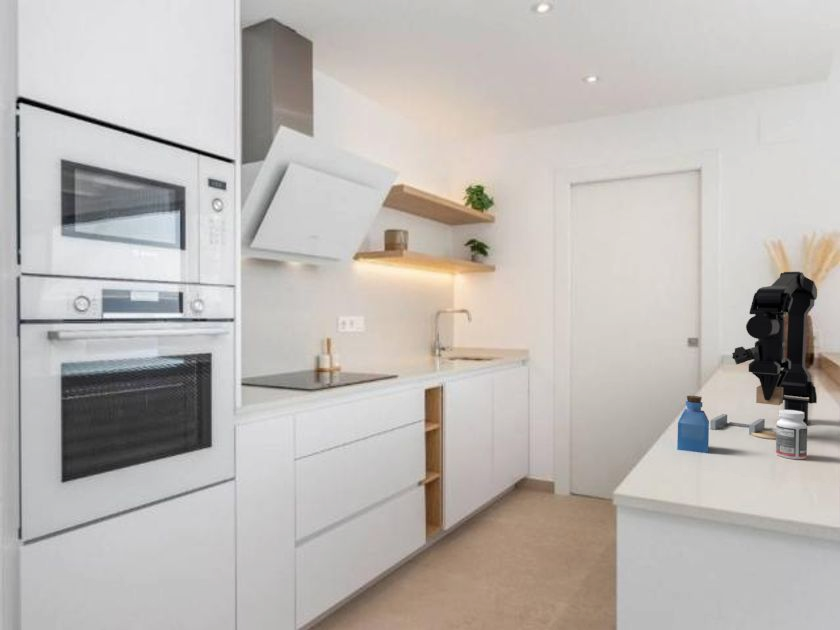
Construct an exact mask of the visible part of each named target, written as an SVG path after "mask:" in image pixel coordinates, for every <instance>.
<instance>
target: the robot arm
mask: <svg viewBox="0 0 840 630" xmlns="http://www.w3.org/2000/svg"><path fill="white" fill-rule="evenodd" d="M817 298H818V289H817V286H816V283H815V281H814V280H812V279H810V278H808V277H807V276H805V275H804V273H803V272H800V271H783V272H781V273H780V274H779V277H778V278H777V279H776V280H775V281H774V282H773V283H772V284H771V285H770V286H762V287H759V288H758V289H757V290H756V292H755V293H754V295H753V297H752V301H751V304H750V309H749V315H753V316H751V317H750V318H749V319H748V321H747V322H746V325H745V328H746V329H745V330H746V332H747V334H748V335H749V336H750V337H752V338H754V339H757V341H755V342H754V346H753V347H750V348H745V347H744V346H738V347H735V348H734V352H732V353H731V354H732V356H731V358H732V359H733V361H734V362H735V364H736V365H739V364H743V363H746V362H748V361H751V362H750V363H748V372H749V373H751V374H752V375H754V376H755V377H756V378H758V380H759V382H760V385H761V387H762V391H763V395H764V399H765V400H770V399H771V397H772V394H773V392H774V390H775V388H776V387H783V401H784V402H783V403H784V404H783V405H784V407H783V408H784V409H783V410H795V411H801V412H804V417H805V418H804V419H803V422H804V423H806V425H807V426H808V425H810V424H811V422H812V421H811V420H809V404H817V402H818V397H817V389H816V386H815V384H814V382H813V381H812V374H811V373H810V371H809V370H808V368H807V367H806V352H807V330H808V329H807V326H808V325H807V324H808V323H807V322H808V314H809V313H810V312H811V310H812V309H813V308H814V306H815V301H816V300H817ZM786 315H788V317H787V340H786V341H787V342H786V341H785V328H786V327H785V322H786V320H785V316H786ZM785 347H786V357H785Z"/></svg>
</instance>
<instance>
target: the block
mask: <svg viewBox="0 0 840 630" xmlns="http://www.w3.org/2000/svg"><path fill="white" fill-rule="evenodd" d="M755 397H756V401H755V403H756V404H761V405H762V404H764V405H770V406H771V405H772V406H780V405H782V404H783V403H784V400H783V387H776V388H775V390H774V392H773V394H772V397H771V399H770V400H765V399H764V395H763V391H762V387H761V384H760V385H759V386H757V387H756V396H755Z"/></svg>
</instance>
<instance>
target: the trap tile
mask: <svg viewBox="0 0 840 630" xmlns="http://www.w3.org/2000/svg"><path fill="white" fill-rule="evenodd" d="M726 425H727V426H735V427H742V428H747V429H749V425H750V424H747V423H740V422H731V421H730V422H727V424H726Z"/></svg>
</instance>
